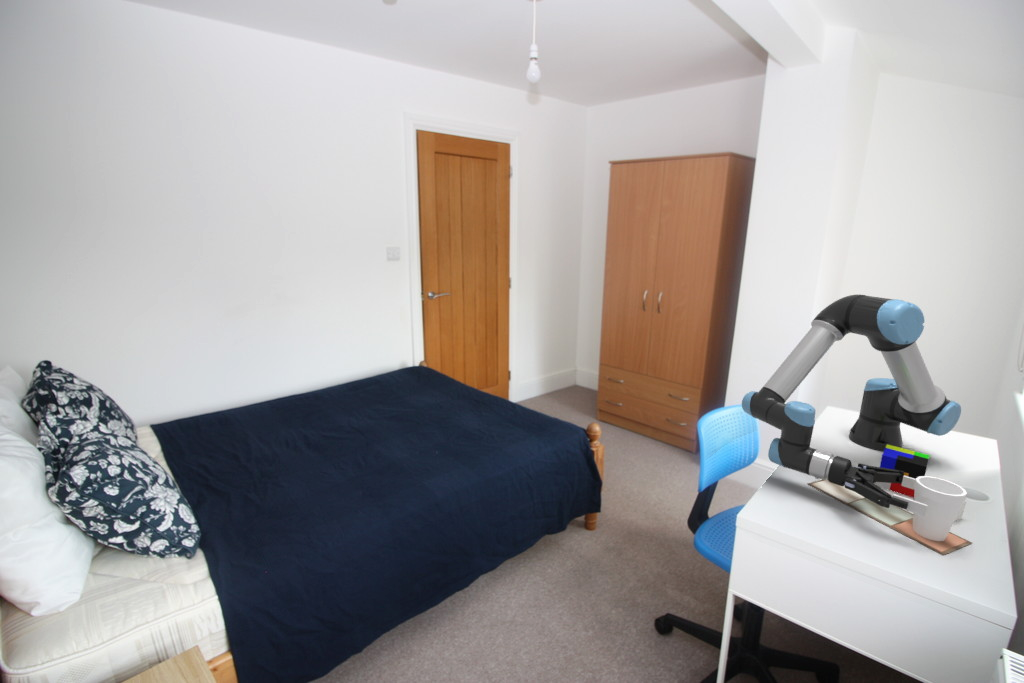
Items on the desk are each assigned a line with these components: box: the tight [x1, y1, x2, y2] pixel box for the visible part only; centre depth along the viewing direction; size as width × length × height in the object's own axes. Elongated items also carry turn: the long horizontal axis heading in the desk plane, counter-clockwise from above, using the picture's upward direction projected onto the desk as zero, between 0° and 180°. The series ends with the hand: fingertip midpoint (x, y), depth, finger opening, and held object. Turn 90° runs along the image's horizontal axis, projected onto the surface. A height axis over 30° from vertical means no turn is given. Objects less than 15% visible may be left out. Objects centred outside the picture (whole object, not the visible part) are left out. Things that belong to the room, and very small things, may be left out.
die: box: [954, 500, 967, 522], centre depth 129 cm, size 5×5×6 cm
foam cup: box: [912, 475, 968, 541], centre depth 120 cm, size 10×9×13 cm
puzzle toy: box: [875, 444, 930, 499], centre depth 143 cm, size 10×10×10 cm
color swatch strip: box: [807, 479, 973, 556], centre depth 131 cm, size 12×34×1 cm, turn 23°
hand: (930, 500), depth 120 cm, fingers open, 13 cm apart
